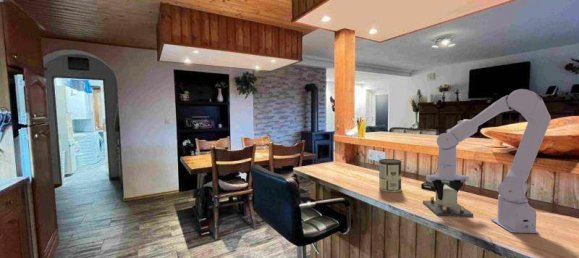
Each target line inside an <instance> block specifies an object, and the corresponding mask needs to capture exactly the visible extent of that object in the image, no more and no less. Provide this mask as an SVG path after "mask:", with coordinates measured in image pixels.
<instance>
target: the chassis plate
mask: <svg viewBox="0 0 579 258" xmlns="http://www.w3.org/2000/svg"><path fill="white" fill-rule="evenodd" d="M422 204H423V205H424V206H426V207H427V208H428V209H429V210H430V211H431V212H433V213H434V214H435V215H436V216H438V217H466V218H467V217H468V218H470V217H472V218H474V213H473V212H471V211H469V210H468V209H467V208H465V206H462V205H461V204H459V203H457V207H446V206H443V205H442V204H441V203H439V202H438V201H437V200H435V197H434V196H430V200H422Z"/></svg>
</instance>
